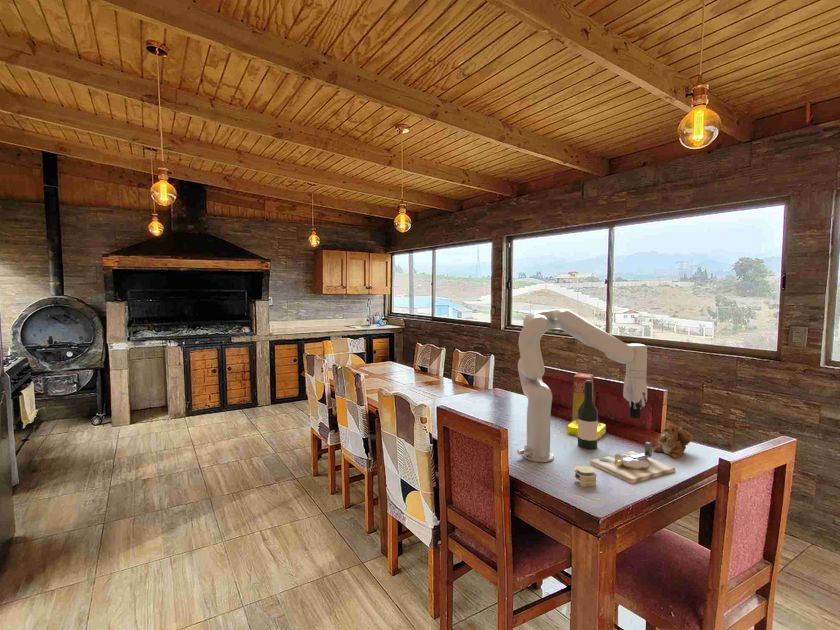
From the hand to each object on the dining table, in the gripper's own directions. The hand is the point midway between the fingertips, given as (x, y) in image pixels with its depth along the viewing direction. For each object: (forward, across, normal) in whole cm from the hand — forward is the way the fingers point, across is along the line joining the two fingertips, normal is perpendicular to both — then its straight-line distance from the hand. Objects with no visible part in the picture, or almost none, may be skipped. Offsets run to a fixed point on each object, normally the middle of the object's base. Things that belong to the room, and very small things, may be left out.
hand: (635, 417), depth 170 cm
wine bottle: (+17, -14, -13) cm, 26 cm away
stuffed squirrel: (+17, -4, +20) cm, 27 cm away
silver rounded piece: (+15, +9, -6) cm, 19 cm away
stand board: (+17, +10, -7) cm, 21 cm away
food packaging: (+17, -50, +2) cm, 53 cm away
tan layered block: (+18, +21, -32) cm, 42 cm away
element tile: (+18, -32, -5) cm, 37 cm away
